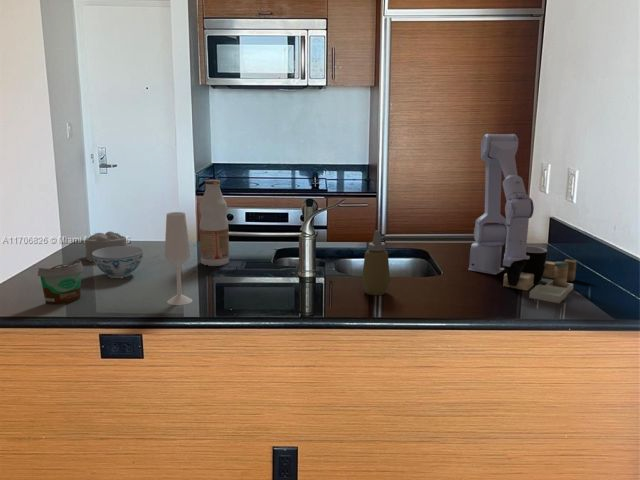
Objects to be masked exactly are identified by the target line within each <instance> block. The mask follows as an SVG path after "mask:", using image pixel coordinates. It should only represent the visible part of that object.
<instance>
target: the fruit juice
mask: <svg viewBox="0 0 640 480" xmlns="http://www.w3.org/2000/svg"><path fill="white" fill-rule="evenodd" d="M204 186H205V190H204V193H203V196H202V199H201V201H200V202H199V206H198V207H199V212H200V215H201V216H200V219H199V242H200V244H199V247H200V262H201V265H203V264H204V266H206V265H208V267H221V266H225V265H227V264H229V262H230V246H229V245H230V243H229V241H230V240H229V220H228V217H227V212H228V204H227V201H226V200H225V198H224V196H223V193H222V190H221V187H220V186H221V181H220V179H207V180H206V179H205V182H204Z"/></svg>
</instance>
